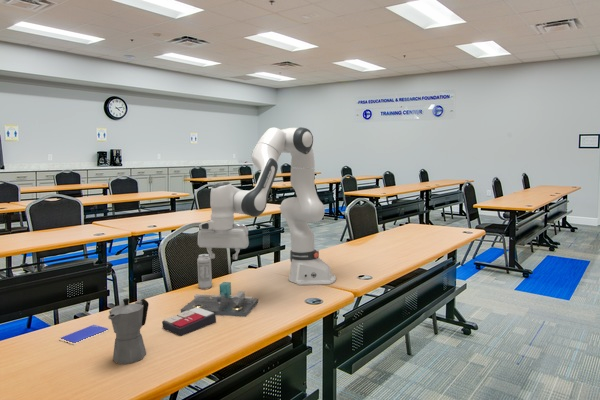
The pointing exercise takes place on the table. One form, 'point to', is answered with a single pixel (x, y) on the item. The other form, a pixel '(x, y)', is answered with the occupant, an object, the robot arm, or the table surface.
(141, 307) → the coffeepot
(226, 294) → the slider
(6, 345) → the table surface
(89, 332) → the hard drive
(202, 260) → the energy drink can
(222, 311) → the hole plate
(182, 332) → the calculator
